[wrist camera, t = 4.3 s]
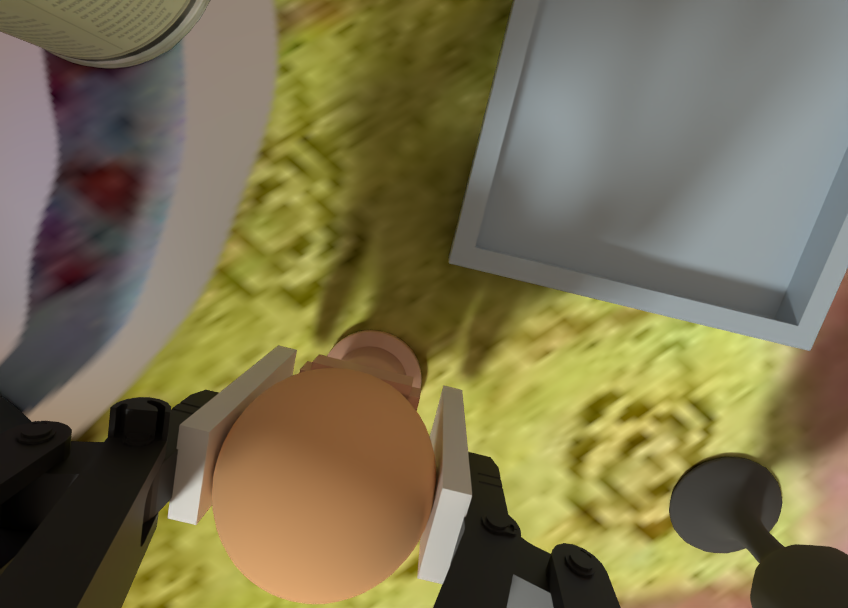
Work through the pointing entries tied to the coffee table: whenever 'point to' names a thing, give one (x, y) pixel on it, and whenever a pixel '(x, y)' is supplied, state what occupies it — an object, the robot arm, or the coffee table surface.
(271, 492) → the ball
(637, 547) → the coffee table surface
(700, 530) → the sundae
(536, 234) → the tray
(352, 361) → the stand
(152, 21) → the coffee can
